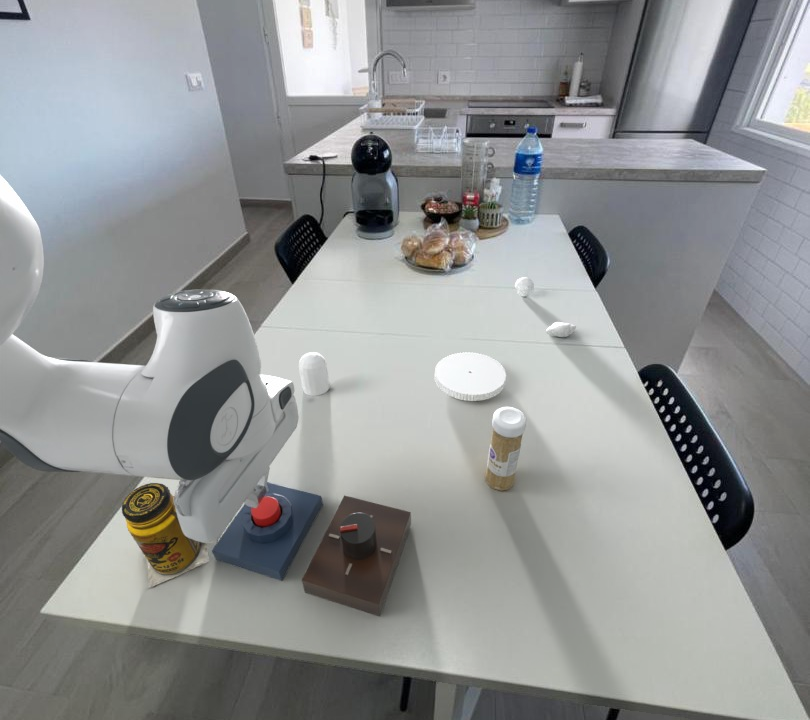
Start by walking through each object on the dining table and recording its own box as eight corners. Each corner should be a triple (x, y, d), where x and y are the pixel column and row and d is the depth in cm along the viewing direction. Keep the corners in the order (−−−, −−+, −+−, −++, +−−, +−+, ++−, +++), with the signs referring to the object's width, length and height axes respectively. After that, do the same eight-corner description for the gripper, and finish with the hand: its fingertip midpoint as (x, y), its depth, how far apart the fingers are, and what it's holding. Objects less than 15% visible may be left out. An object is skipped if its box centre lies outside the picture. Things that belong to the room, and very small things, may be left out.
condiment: (149, 588, 57) (112, 533, 50) (146, 535, 63) (112, 479, 56) (210, 562, 59) (182, 506, 52) (200, 514, 65) (174, 458, 58)
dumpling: (553, 345, 101) (551, 329, 99) (543, 336, 105) (541, 321, 103) (582, 336, 101) (581, 320, 99) (571, 328, 106) (570, 313, 104)
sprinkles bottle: (478, 477, 70) (486, 413, 62) (500, 464, 72) (510, 401, 64) (498, 497, 67) (509, 432, 59) (520, 483, 69) (533, 419, 61)
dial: (374, 526, 60) (372, 508, 58) (378, 556, 56) (377, 538, 54) (341, 531, 59) (338, 513, 57) (343, 562, 56) (340, 545, 54)
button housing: (282, 581, 57) (276, 564, 55) (215, 560, 60) (207, 542, 57) (323, 505, 66) (319, 487, 64) (264, 489, 69) (258, 472, 67)
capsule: (324, 397, 86) (319, 364, 82) (298, 394, 87) (291, 361, 83) (333, 380, 91) (328, 348, 86) (308, 377, 92) (302, 345, 87)
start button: (272, 530, 59) (269, 522, 58) (248, 523, 60) (245, 515, 59) (285, 507, 62) (283, 500, 61) (262, 501, 63) (260, 493, 62)
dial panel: (380, 616, 53) (378, 603, 51) (305, 592, 56) (301, 579, 54) (411, 524, 63) (410, 511, 62) (346, 507, 66) (344, 494, 64)
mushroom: (509, 294, 120) (512, 277, 117) (522, 289, 122) (524, 272, 120) (524, 301, 117) (526, 284, 114) (536, 296, 119) (539, 278, 116)
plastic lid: (451, 355, 97) (451, 345, 96) (513, 373, 92) (515, 363, 90) (422, 391, 87) (422, 381, 86) (490, 414, 82) (492, 403, 80)
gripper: (198, 500, 42) (232, 579, 50) (299, 374, 58) (313, 449, 66) (143, 485, 43) (184, 563, 51) (257, 366, 59) (275, 440, 67)
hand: (257, 498), depth 59 cm, fingers closed
